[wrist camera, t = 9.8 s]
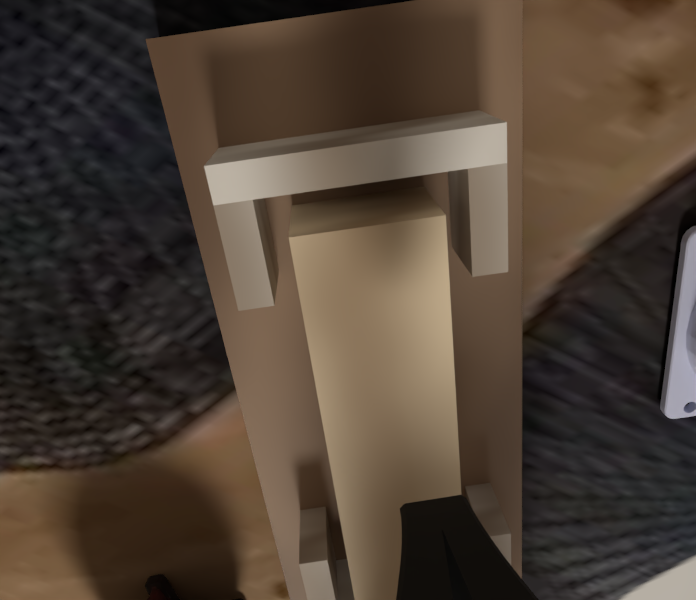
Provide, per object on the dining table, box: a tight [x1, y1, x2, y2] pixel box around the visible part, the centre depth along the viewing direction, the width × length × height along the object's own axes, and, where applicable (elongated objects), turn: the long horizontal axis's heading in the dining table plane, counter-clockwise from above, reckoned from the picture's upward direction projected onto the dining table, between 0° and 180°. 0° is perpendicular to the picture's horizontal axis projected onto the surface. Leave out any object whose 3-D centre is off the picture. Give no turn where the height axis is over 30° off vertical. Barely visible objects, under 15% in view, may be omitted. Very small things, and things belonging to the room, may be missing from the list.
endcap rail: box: [146, 0, 523, 600], centre depth 20 cm, size 10×24×4 cm, turn 7°
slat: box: [289, 187, 461, 600], centre depth 19 cm, size 4×14×3 cm, turn 7°
